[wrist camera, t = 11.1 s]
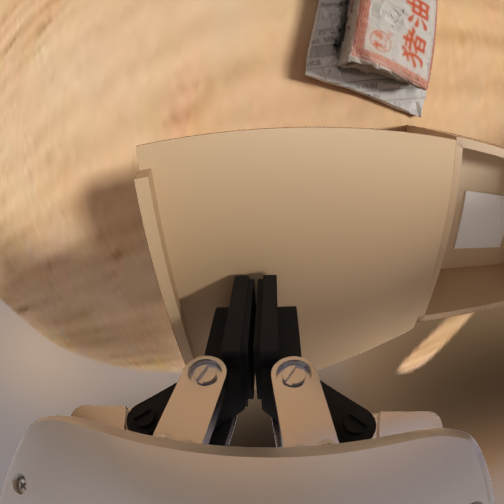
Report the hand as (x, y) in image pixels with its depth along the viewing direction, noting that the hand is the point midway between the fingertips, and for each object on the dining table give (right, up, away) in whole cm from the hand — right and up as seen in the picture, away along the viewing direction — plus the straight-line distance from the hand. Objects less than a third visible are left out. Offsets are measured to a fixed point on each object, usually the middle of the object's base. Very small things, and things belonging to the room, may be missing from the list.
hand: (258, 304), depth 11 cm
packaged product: (+10, +22, +2) cm, 24 cm away
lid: (+4, 0, 0) cm, 4 cm away
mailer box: (+22, +6, +9) cm, 24 cm away
